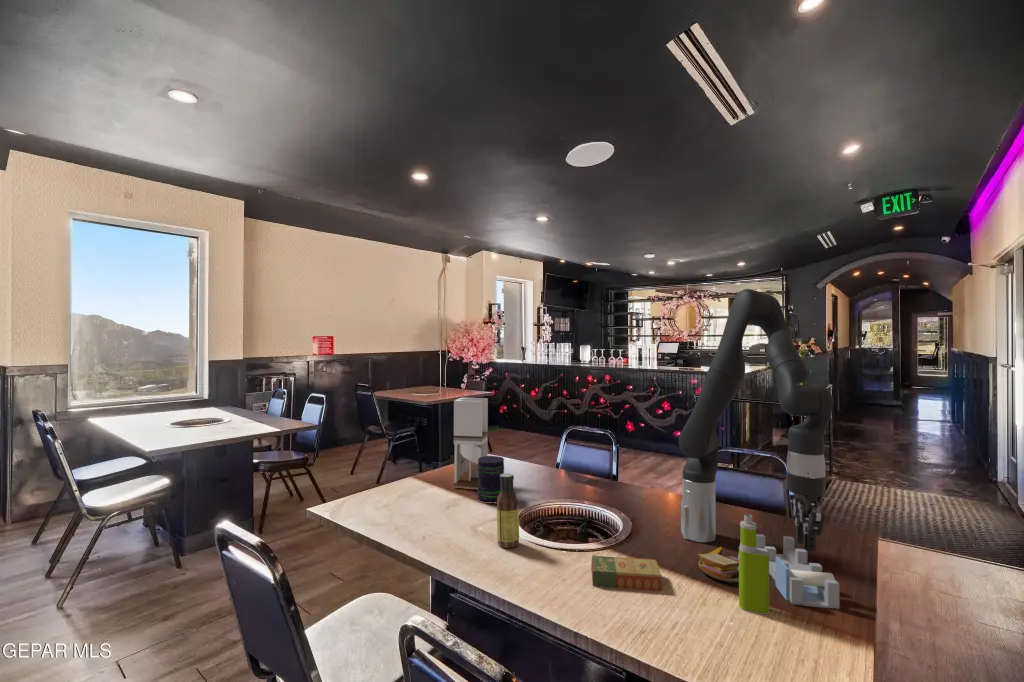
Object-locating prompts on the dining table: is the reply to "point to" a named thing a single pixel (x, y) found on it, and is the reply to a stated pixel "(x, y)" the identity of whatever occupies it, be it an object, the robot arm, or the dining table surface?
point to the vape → (752, 570)
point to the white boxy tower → (469, 439)
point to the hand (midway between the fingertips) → (805, 546)
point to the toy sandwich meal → (720, 566)
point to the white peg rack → (794, 585)
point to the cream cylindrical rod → (812, 577)
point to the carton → (626, 573)
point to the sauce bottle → (507, 513)
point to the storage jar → (489, 477)
